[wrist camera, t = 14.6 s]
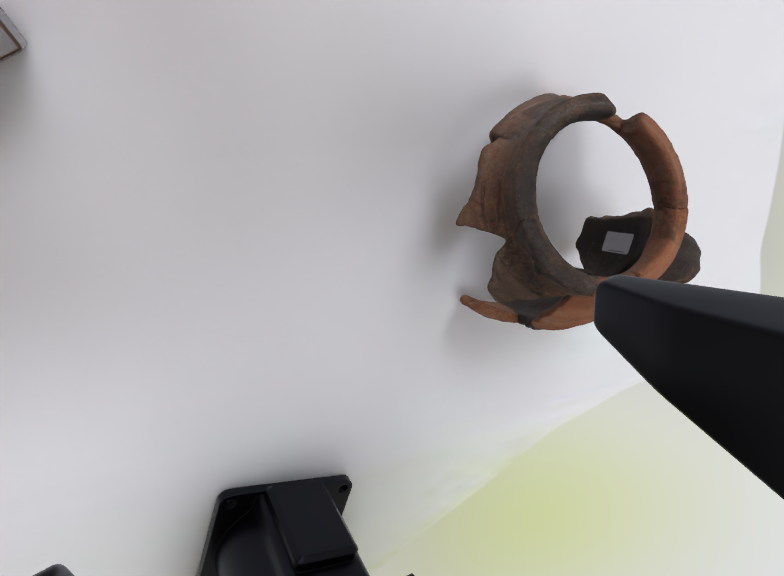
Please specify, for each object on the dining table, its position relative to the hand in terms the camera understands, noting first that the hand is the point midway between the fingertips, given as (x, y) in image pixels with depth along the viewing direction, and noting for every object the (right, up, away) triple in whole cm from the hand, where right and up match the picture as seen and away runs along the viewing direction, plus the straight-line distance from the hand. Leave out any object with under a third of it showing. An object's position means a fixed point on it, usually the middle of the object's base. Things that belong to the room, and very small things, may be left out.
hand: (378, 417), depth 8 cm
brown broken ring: (+6, +6, +17) cm, 19 cm away
